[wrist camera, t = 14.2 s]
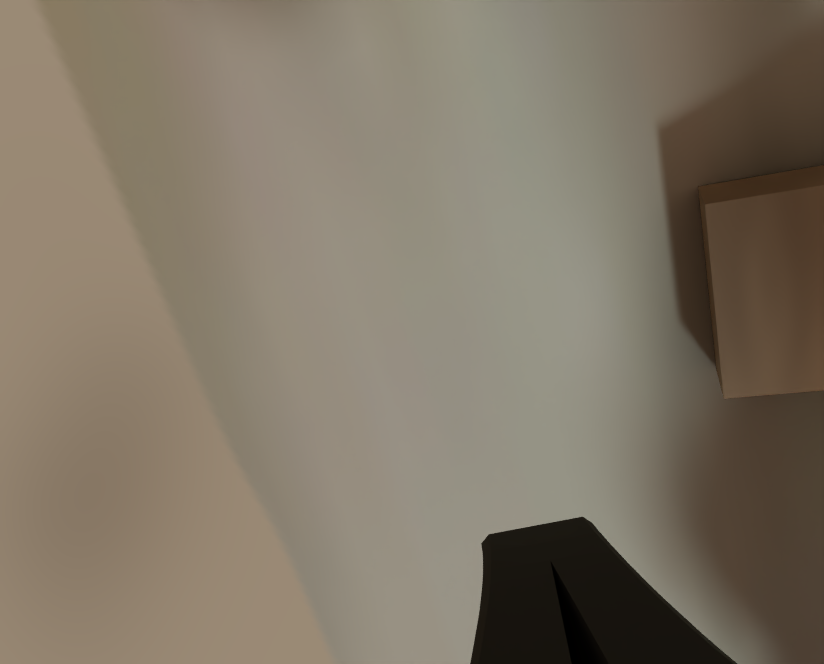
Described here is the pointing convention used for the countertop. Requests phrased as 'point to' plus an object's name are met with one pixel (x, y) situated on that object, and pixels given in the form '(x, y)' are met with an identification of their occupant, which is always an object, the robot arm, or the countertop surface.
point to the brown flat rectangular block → (766, 281)
